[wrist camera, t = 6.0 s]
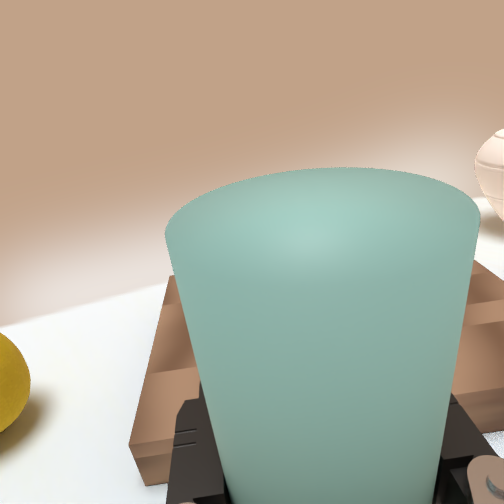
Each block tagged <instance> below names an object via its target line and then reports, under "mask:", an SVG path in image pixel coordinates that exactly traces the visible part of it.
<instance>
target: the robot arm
mask: <svg viewBox="0 0 504 504" xmlns="http://www.w3.org/2000/svg"><path fill="white" fill-rule="evenodd" d="M166 504H231V501H230V497H229V493H228V489H227V485H226V481H225V477H224V473H223V469H222V465H221V461H220V456H219V452H218V448H217V444H216V440H215V436H214V432H213V428H212V424H211V420H210V416H209V412H208V408H207V404H206V400H205V396H204V392H203V388H202V384H201V380H200V384H199V398H196V399H190V400H185V401H184V403H183V405H182V406H181V408H180V410H179V412H178V414H177V416H176V424H175V435H174V441H173V449H172V457H171V465H170V474H169V482H168V490H167V498H166ZM432 504H504V459H503V458H500V457H499V456H498V455H497V454H496V452H495V451H494V450H493V449H492V447H491V446H490V445H489V443H488V442H487V440H486V439H485V438H484V436H483V435H482V434H481V432H480V431H479V429H478V428H477V427H476V425H475V424H474V423H473V421H472V420H471V418H470V417H469V416H468V414H467V413H466V412H465V410H464V409H463V407H462V406H461V405H459V403H458V401H457V399H456V398H455V396H454V395H453V394H452V393H451V395H450V400H449V406H448V412H447V418H446V424H445V430H444V435H443V441H442V447H441V453H440V459H439V465H438V470H437V476H436V482H435V488H434V494H433V499H432Z"/></svg>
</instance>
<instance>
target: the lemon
mask: <svg viewBox="0 0 504 504" xmlns="http://www.w3.org/2000/svg"><path fill="white" fill-rule="evenodd" d="M30 381H31V380H30V373H29V369H28V366H27V364H26V362H25V360H24V358H23V355H22V354H21V352H20V351H19V349H18V348H17V347H16V346H15V345H14V344H13V342H11V341H10V340H9V339H8V338H7V337H6V336H5V335H3V334H1V333H0V433H1V432H3V431H4V430H5V429H6V428H7V427H8V426H9V425H11V424H12V423H13V422H14V421H15V420H16V418H17V417H18V416H19V415H20V413H21V412H22V410H23V409H24V407H25V405H26V402H27V400H28V397H29V393H30Z"/></svg>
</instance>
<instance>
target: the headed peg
mask: <svg viewBox="0 0 504 504" xmlns="http://www.w3.org/2000/svg"><path fill="white" fill-rule="evenodd" d="M479 226H480V212H479V209H478V207H477V205H476V204H475V202H474V201H473V200H472V199H471V198H470V197H469V196H467V195H466V194H465V193H464V192H462V191H460V190H458V189H457V188H455V187H453V186H451V185H449V184H446V183H444V182H441V181H438V180H435V179H432V178H429V177H425V176H421V175H417V174H412V173H406V172H401V171H393V170H384V169H373V168H319V169H318V168H317V169H305V170H295V171H287V172H282V173H275V174H269V175H264V176H259V177H255V178H251V179H246V180H243V181H239V182H235V183H232V184H229V185H226V186H223V187H220V188H218V189H215V190H213V191H210V192H208V193H206V194H204V195H202V196H199V197H198V198H196V199H194V200H192V201H191V202H189V203H188V204H186V205H185V206H183V207H182V208H181V209H180V210H179V211H177V212H176V213H175V214H174V215H173V217H172V218H171V219H170V220H169V223H168V225H167V227H166V231H165V238H166V243H167V247H168V251H169V255H170V259H171V263H172V267H173V271H174V276H175V280H176V284H177V288H178V292H179V296H180V300H181V304H182V308H183V312H184V316H185V320H186V324H187V328H188V332H189V336H190V340H191V344H192V348H193V352H194V356H195V360H196V364H197V368H198V372H199V376H200V380H201V384H202V388H203V392H204V396H205V400H206V404H207V408H208V412H209V416H210V420H211V424H212V428H213V432H214V436H215V440H216V444H217V448H218V452H219V456H220V461H221V465H222V469H223V473H224V477H225V481H226V485H227V489H228V493H229V497H230V501H231V504H432V499H433V494H434V488H435V482H436V476H437V470H438V465H439V459H440V453H441V447H442V441H443V435H444V430H445V424H446V418H447V412H448V406H449V400H450V395H451V389H452V383H453V377H454V371H455V365H456V360H457V354H458V348H459V342H460V336H461V330H462V325H463V319H464V313H465V307H466V301H467V296H468V290H469V284H470V278H471V272H472V266H473V261H474V255H475V249H476V243H477V237H478V231H479Z"/></svg>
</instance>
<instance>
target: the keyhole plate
mask: <svg viewBox="0 0 504 504" xmlns="http://www.w3.org/2000/svg"><path fill="white" fill-rule="evenodd" d="M199 384H200V376H199V372H198V368H197V364H196V360H195V356H194V352H193V348H192V344H191V340H190V336H189V332H188V328H187V324H186V320H185V316H184V312H183V308H182V304H181V300H180V296H179V292H178V288H177V284H176V280H175V276H174V275H172V276H170V277H169V281H168V285H167V289H166V293H165V297H164V301H163V305H162V309H161V314H160V318H159V322H158V326H157V330H156V334H155V338H154V342H153V346H152V350H151V355H150V359H149V363H148V367H147V371H146V375H145V379H144V383H143V387H142V391H141V396H140V400H139V404H138V408H137V412H136V416H135V420H134V424H133V428H132V432H131V437H130V441H129V448H130V450H131V452H132V455H133V457H134V460H135V462H136V464H137V467H138V469H139V472H140V474H141V476H142V479H143V481H144V484H145V486H148V485H155V484H161V483H168V482H169V474H170V465H171V457H172V449H173V441H174V435H175V424H176V416H177V414H178V412H179V410H180V408H181V406H182V405H183V403H184V401H185V400H190V399H196V398H199ZM451 393H452V394H453V395H454V396H455V398H456V399H457V401H458V403H459V405H461V406H462V407H463V409H464V410H465V412H466V413H467V414H468V416H469V417H470V418H471V420H472V421H473V423H474V424H475V425H476V427H477V428H478V429H479V431H480V432H481V434H482V433H488V432H495V431H501V430H504V281H503V280H501V279H500V278H499V277H497V276H496V275H495V274H493V273H492V272H490V271H489V270H488V269H486V268H485V267H484V266H482V265H481V264H480V263H478V262H477V261H475V260H474V261H473V266H472V272H471V278H470V284H469V290H468V296H467V301H466V307H465V313H464V319H463V325H462V330H461V336H460V342H459V348H458V354H457V360H456V365H455V371H454V377H453V383H452V389H451Z"/></svg>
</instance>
